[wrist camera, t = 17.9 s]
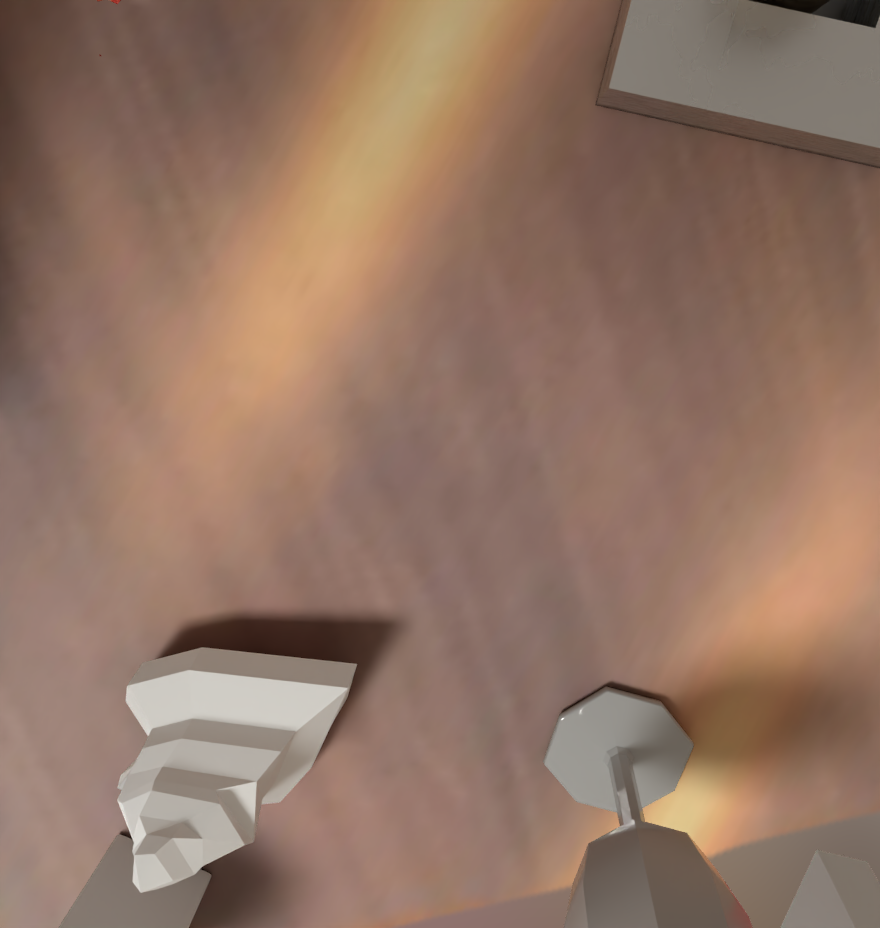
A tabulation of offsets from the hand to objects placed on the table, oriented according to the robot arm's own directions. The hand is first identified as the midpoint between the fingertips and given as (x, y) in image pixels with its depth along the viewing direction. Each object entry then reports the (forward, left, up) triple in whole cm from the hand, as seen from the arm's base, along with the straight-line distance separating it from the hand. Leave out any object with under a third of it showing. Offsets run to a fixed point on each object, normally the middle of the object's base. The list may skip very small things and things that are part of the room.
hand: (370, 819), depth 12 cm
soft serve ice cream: (-9, -23, -32) cm, 40 cm away
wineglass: (+14, -20, -32) cm, 40 cm away
